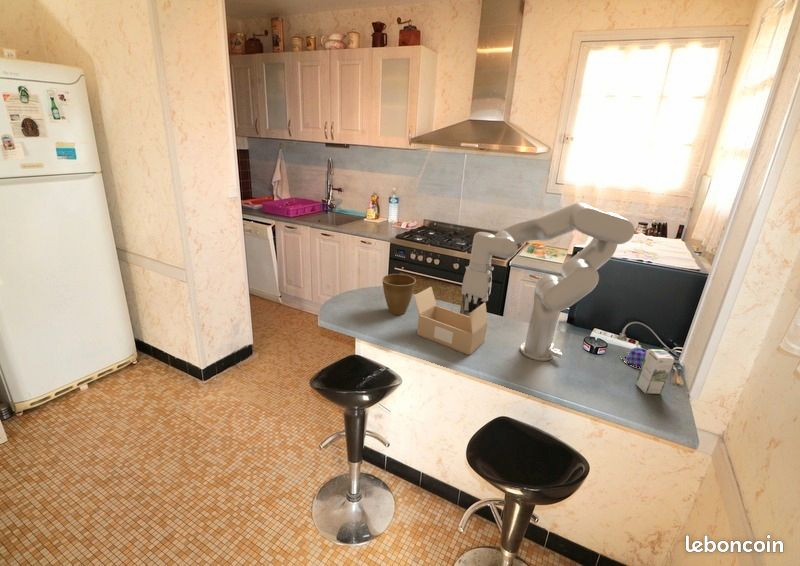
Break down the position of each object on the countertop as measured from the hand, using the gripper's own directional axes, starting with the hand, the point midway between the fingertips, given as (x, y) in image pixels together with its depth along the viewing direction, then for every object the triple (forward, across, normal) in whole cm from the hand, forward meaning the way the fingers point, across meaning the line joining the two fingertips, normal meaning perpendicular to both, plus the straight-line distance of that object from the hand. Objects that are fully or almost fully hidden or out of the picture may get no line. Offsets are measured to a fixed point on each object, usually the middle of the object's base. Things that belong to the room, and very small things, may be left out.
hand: (471, 311), depth 149 cm
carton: (+15, +7, 0) cm, 17 cm away
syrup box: (+14, -61, -17) cm, 65 cm away
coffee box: (+15, +10, -20) cm, 27 cm away
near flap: (+2, -3, 0) cm, 3 cm away
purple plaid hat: (+14, -56, -35) cm, 67 cm away
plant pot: (+16, +38, -5) cm, 42 cm away
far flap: (+2, +21, 0) cm, 21 cm away
